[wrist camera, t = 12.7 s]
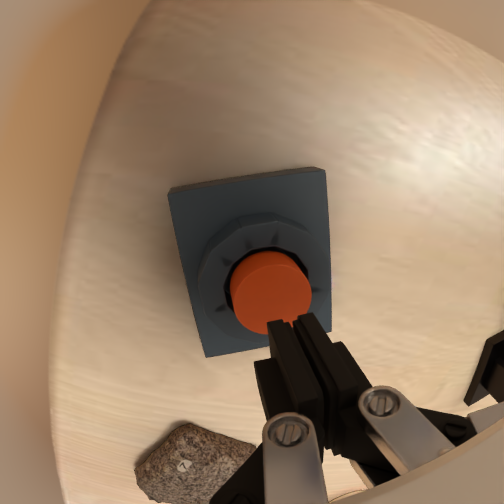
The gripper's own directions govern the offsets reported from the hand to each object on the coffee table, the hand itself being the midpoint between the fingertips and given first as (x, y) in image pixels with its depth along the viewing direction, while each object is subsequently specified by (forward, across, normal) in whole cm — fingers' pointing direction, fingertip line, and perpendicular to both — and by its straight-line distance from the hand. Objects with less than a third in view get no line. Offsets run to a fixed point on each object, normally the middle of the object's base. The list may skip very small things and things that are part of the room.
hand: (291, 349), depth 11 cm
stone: (+8, +8, +19) cm, 22 cm away
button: (+5, 0, 0) cm, 5 cm away
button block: (+8, 0, 0) cm, 8 cm away
